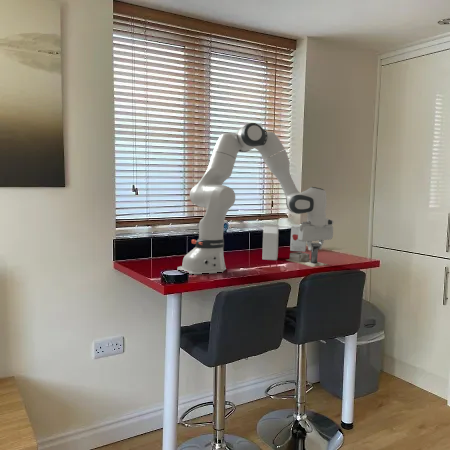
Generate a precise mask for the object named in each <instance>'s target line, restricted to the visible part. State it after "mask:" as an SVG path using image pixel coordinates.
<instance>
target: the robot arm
mask: <svg viewBox="0 0 450 450" xmlns="http://www.w3.org/2000/svg"><path fill="white" fill-rule="evenodd" d="M214 145H215V146H214V147H213V151H212V154H211V157H210V160H209V162H208V166H207V167H206V168H207V169H206V171H205V172H204V174H203V176H202V177H201V178H200V180H199V181H198V183H196V185H194V186H193V187H191V190H190V192H189V199H190V201H191V203H192V204H194V205H195V206H197V207H199V208H205V209H206V210H205V214H204V216H203V217H202V218H201V219H200V221H199V225H198V227H199V228H198V231H199V232H198V238H197V240H196V239H191V244H193V245H195V247H193V249H191V250H190V251H189V252H187V254H185V255H184V257H183V259H182V265H180V266H177V271H178V270H184V271H188V272H189V274H188V275H192V274H194V275H203V274H202V273H209V274H218V273H217V272H222V273H224V271H226V270H227V268H226V262H225V257H224V255H225V254H224V249H225V238H224V224H225V220H226V217H227V213H228V212H229V210H230V209H231V208H232V207H233V205H234V204H235V201H236V193H235V190H234V189H233V188H231V187H229V186H226V185H224V183H225V181H226V180H228V179H229V178H230V177H231V175H232V174H233V169H234V166H235V163H236V159H237V157H238V156H237V155H238V154H239V152H241V153H246V152H249V151H251V150H253V149H255V150H257V151H258V152H259V153H260V155H261V157H262V159H263V162H264V163H265V165H266V166H267V168H268V169H269V171H270V172H271V174H273V175H274V176H275V178H276V179H277V181H278V182H279V184H280V187H281V188H282V191H283V194H284V196H285V205H286V208H287V209H288V211H290V212H291V213H294V214H295V215H301V214H305V213H306V214H307V215H306V216H307V217H306V221H302V222H301V223H300V224H299V225H300V228H299V233H298V240H299V241H302V242H306V246H307V248H308V249H307V250H308V251H311V250H313V246H312V245H311V243H313V242H314V241H315V242H316V241H317V242H318V243H321V246H318V250H322V248H323V245H324V242H325V241H328V240H332V239H333V237H334V236H333V235H334V226H333V225H334V220H333V219H331V218H328V217H327V213H326V209H327V206H328V203H327V198H328V197H327V191H326V190H325V189H323V188H322V187H321V188H320V187H316V186H310V187H309V188H308V189H306V190H303V191H301V192H300V191H299V190H298V188H297V187H296V184H295V181H294V180H293V177H292V176H291V170H290V164H291V163H290V160H289V156H288V153H287V151H286V149H285V146H284V145H283V143H282V141H281V140H280V139H279V137H278V136H277V135H276V133H275V132H273V131H267V130H266V129H264V128H263V127H262V126H261V125H260V124H258V123H256V122H249V123H246V124H245V125H244V126H242V127H241V128H239V130H237V131H236V132H235V133H231V132H223V133H221V135H220V136H219V137H218V138H217V141H216V143H215V144H214Z"/></svg>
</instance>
